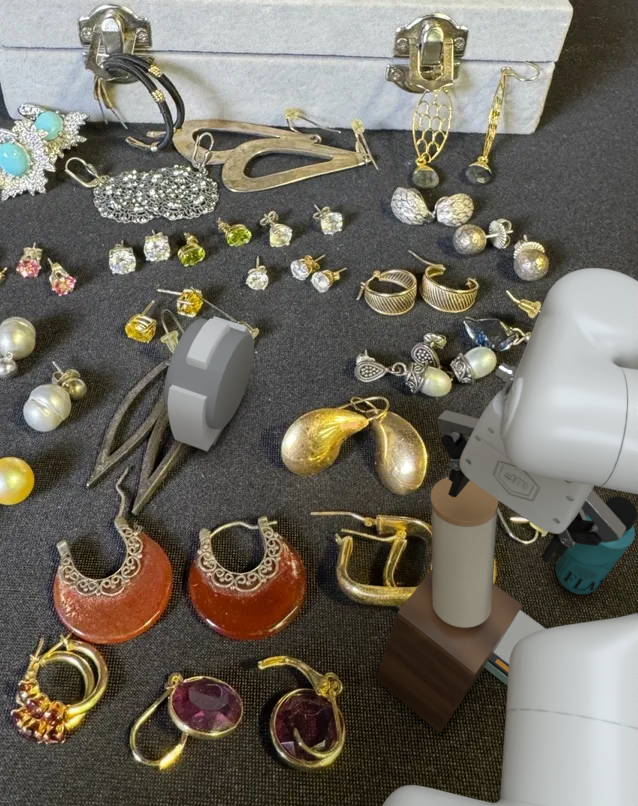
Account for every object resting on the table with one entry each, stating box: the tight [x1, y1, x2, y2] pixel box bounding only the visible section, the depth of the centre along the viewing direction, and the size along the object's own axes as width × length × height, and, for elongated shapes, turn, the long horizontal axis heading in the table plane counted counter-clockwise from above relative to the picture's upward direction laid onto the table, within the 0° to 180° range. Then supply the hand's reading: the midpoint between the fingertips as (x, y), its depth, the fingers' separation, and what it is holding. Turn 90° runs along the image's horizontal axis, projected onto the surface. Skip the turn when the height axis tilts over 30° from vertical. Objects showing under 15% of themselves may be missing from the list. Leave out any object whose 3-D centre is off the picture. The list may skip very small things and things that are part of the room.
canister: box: [430, 476, 499, 628], centre depth 85 cm, size 7×7×16 cm
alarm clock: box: [163, 315, 255, 452], centre depth 126 cm, size 18×8×20 cm, turn 157°
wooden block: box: [375, 568, 524, 734], centre depth 98 cm, size 10×10×22 cm
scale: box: [484, 609, 546, 687], centre depth 107 cm, size 9×9×3 cm
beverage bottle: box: [555, 495, 638, 595], centre depth 108 cm, size 6×7×20 cm
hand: (504, 517), depth 74 cm, fingers open, 9 cm apart
